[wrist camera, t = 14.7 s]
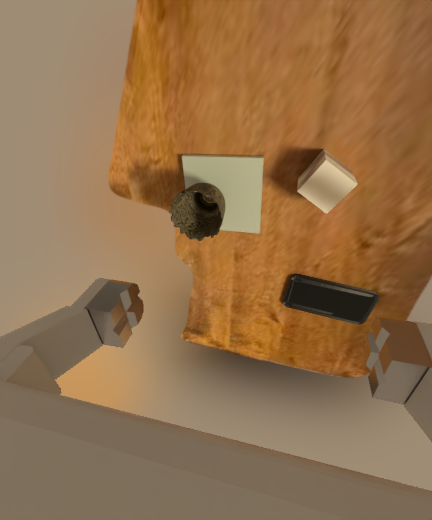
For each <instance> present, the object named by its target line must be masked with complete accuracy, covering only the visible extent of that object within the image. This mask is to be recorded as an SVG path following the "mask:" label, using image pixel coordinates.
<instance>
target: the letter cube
mask: <svg viewBox="0 0 432 520" xmlns="http://www.w3.org/2000/svg"><path fill="white" fill-rule="evenodd" d="M356 185H358V184H357V182H356V180H355V177H354V175H353V172H352V171H351V170H350V169H348V168H347V167H346V166H345V165H343V164H342V163H341V162H340V161H338V160H337V159H336V158H334V157H333V156H332V155H331V154H329V153H328V152H327V151H326V150H324V149H323V151H322V152H321V153H320V154H319V155H318V156H317V157H316V158H315V160H314V161H313V162H312V163H311V164H310V165H309V166H308V168H307V169H306V170H305V171H304V172H303V173H302V174H301V176H300V177H299V178H298V186H297V192H299V193H300V194H301V195H303V196H304V197H305V198H307V199H308V200H309V201H311V202H312V203H313V204H315V205H316V206H317V207H318V208H320V209H321V210H322V211H324V212H325V213H326V214H327V213H328V212H329V211H330V210H331V209H332V208H333V207H334V206H335V205H336V204H337V203H338V202H339V201H341V200H342V199H343V198H344V197H345V196H346V195H347V194H348V193H349V192H350V191H351V190H352V189H353V188H354V187H355V186H356Z"/></svg>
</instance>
